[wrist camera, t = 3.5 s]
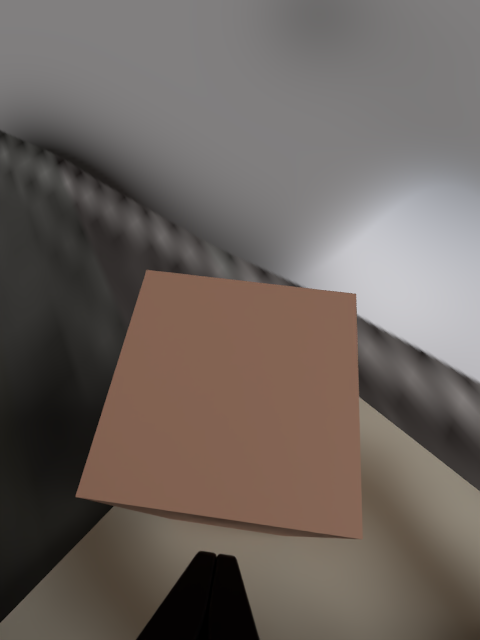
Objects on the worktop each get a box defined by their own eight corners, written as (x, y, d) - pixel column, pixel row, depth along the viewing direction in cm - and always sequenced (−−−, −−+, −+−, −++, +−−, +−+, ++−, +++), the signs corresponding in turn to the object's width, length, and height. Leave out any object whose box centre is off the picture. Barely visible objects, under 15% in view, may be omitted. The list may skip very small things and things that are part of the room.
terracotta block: (285, 536, 14) (363, 539, 6) (169, 518, 15) (74, 496, 6) (292, 419, 17) (356, 293, 8) (191, 406, 17) (146, 270, 8)
